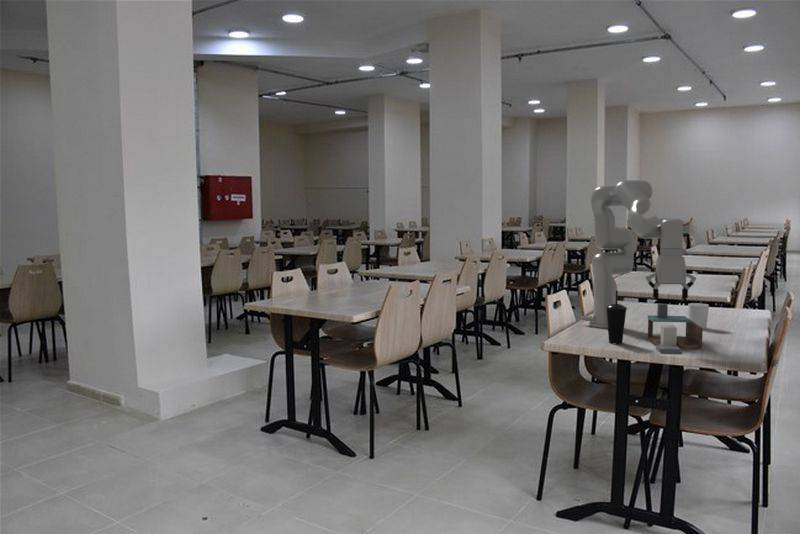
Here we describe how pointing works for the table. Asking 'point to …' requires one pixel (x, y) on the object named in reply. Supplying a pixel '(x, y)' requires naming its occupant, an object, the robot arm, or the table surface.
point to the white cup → (698, 313)
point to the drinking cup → (616, 321)
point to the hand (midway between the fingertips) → (670, 299)
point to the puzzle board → (688, 342)
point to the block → (668, 335)
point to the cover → (663, 316)
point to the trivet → (668, 349)
